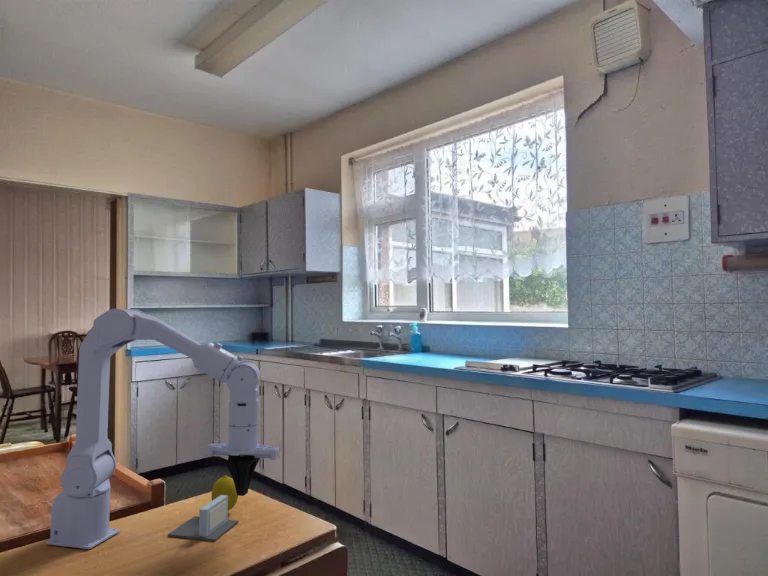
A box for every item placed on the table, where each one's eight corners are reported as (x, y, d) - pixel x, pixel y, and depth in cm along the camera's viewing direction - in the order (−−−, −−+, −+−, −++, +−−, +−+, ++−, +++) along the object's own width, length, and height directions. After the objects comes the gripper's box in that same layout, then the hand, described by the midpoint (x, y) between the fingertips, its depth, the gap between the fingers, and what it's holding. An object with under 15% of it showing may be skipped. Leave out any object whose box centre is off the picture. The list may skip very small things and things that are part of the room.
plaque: (198, 535, 99) (199, 509, 99) (220, 519, 107) (221, 494, 107) (206, 536, 98) (207, 510, 99) (228, 520, 106) (228, 495, 106)
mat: (167, 536, 99) (167, 534, 99) (194, 518, 108) (194, 516, 108) (215, 541, 97) (215, 539, 97) (238, 522, 106) (238, 520, 106)
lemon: (233, 518, 108) (234, 479, 109) (207, 518, 108) (208, 479, 109) (241, 508, 114) (241, 471, 114) (215, 508, 114) (216, 471, 114)
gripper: (199, 426, 100) (197, 498, 99) (269, 430, 97) (268, 504, 96) (218, 419, 107) (216, 486, 106) (284, 422, 104) (283, 491, 103)
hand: (242, 494), depth 101 cm, fingers closed
